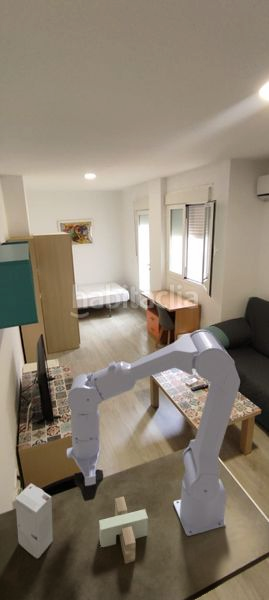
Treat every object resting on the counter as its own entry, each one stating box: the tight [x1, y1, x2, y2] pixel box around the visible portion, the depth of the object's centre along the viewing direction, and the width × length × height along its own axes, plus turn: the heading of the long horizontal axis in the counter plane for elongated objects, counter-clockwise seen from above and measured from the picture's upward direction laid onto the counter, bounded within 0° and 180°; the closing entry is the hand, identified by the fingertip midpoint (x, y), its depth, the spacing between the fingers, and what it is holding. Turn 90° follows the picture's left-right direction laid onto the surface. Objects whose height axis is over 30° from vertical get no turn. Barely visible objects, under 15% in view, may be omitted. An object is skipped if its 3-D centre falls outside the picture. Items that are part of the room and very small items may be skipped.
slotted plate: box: [98, 508, 149, 548], centre depth 62 cm, size 10×2×5 cm, turn 105°
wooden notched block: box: [114, 496, 137, 564], centre depth 62 cm, size 2×10×5 cm, turn 15°
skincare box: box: [15, 483, 54, 559], centre depth 59 cm, size 6×4×12 cm
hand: (87, 482), depth 64 cm, fingers open, 7 cm apart
